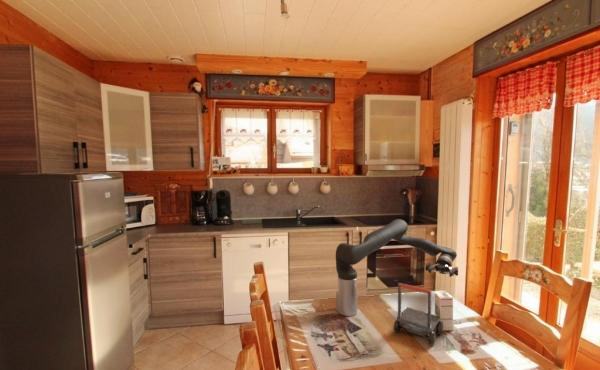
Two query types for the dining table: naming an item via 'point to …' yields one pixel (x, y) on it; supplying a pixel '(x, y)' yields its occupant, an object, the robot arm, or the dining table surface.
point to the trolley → (418, 317)
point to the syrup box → (444, 309)
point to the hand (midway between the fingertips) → (440, 273)
